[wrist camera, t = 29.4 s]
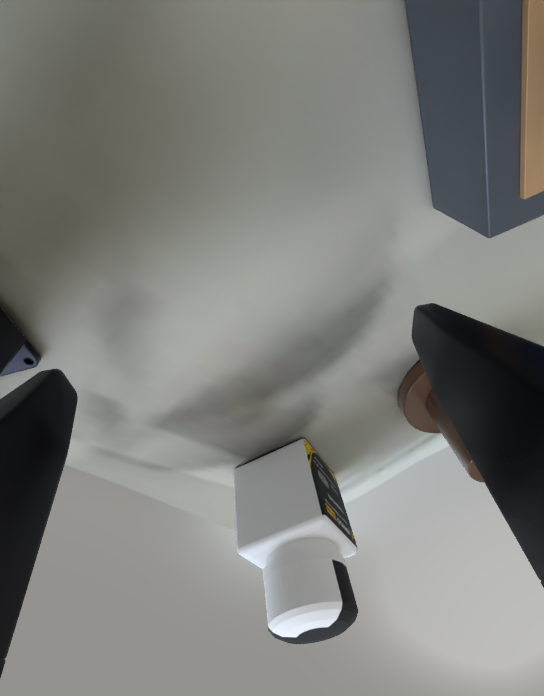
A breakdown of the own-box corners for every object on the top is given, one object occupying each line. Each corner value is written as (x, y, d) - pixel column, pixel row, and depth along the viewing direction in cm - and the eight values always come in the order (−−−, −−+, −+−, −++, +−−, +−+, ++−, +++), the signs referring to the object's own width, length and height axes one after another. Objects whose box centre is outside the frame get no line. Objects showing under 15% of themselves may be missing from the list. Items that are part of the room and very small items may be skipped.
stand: (398, 433, 31) (465, 561, 23) (397, 355, 26) (485, 486, 17) (499, 407, 31) (605, 527, 22) (520, 323, 25) (670, 440, 17)
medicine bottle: (335, 475, 34) (384, 629, 24) (270, 502, 35) (291, 659, 26) (304, 435, 30) (347, 602, 20) (231, 468, 31) (239, 639, 21)
